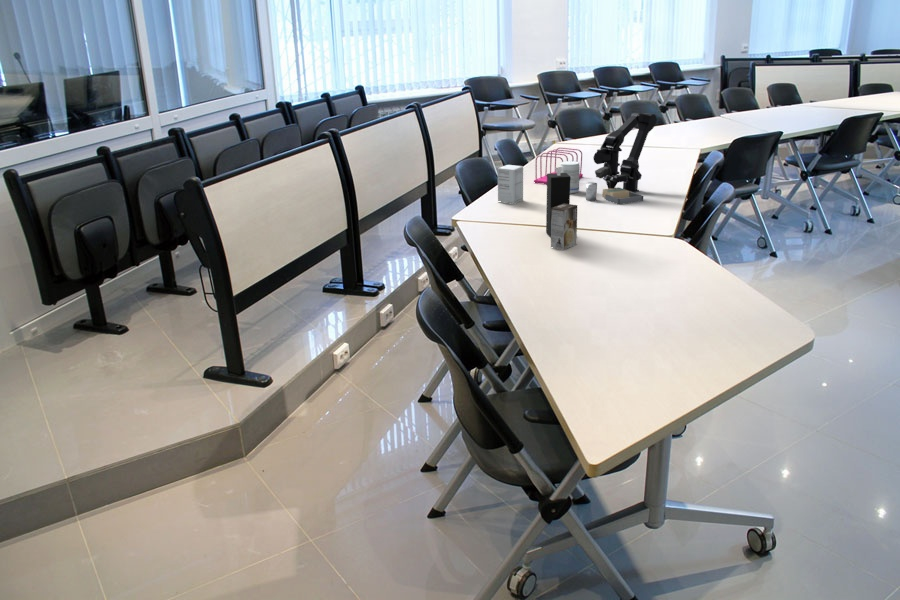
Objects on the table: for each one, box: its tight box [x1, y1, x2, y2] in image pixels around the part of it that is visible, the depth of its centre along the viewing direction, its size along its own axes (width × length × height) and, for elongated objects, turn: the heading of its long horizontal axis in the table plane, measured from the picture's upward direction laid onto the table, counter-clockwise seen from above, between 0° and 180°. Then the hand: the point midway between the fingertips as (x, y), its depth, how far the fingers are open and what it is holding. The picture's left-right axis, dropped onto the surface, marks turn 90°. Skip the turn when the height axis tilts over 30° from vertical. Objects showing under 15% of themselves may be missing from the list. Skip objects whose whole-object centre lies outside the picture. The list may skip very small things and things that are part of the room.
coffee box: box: [550, 203, 578, 251], centre depth 280 cm, size 9×6×16 cm
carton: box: [602, 186, 629, 199], centre depth 351 cm, size 9×9×5 cm
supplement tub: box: [560, 160, 581, 194], centre depth 365 cm, size 10×10×15 cm
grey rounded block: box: [585, 181, 598, 202], centre depth 349 cm, size 5×5×8 cm
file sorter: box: [533, 147, 584, 185], centre depth 391 cm, size 17×25×16 cm
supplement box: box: [497, 164, 524, 205], centre depth 350 cm, size 10×9×17 cm
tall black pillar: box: [545, 166, 571, 238], centre depth 293 cm, size 8×8×28 cm
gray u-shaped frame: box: [604, 191, 644, 205], centre depth 347 cm, size 14×11×2 cm
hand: (610, 192), depth 357 cm, fingers closed
